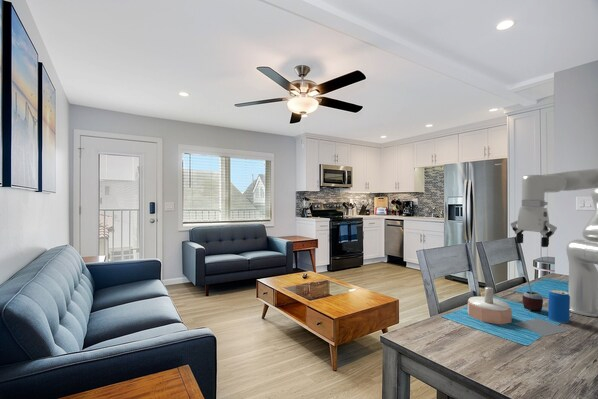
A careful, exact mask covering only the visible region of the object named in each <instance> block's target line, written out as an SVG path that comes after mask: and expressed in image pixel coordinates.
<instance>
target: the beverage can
mask: <svg viewBox="0 0 598 399" xmlns="http://www.w3.org/2000/svg"><path fill="white" fill-rule="evenodd" d="M568 294H569V293H568V292H567V291H565V290H560V289H550V290H549V292H548V313H547V315H548V316H547V317H548V319H549V320H551V321H554V322H557V323H564V324H567V323H569V322H570V296H569V295H568Z"/></svg>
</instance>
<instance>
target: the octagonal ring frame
mask: <svg viewBox="0 0 598 399" xmlns="http://www.w3.org/2000/svg"><path fill="white" fill-rule="evenodd" d="M512 313H513V310H512V308H511V307H510V309H509V310H507V311H493V310H487V309H483V308H479V307H476V306H474V305H472V304H471V303H470V302H469V298H468V299H467V314H468V316H469V317H471V318H473V319H475V320H478V321H480V322H484V323H489V324H490V323H491V324H496V325H506V324H510V323H512V322H513V321H512V315H513V314H512Z"/></svg>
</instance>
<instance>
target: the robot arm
mask: <svg viewBox="0 0 598 399" xmlns="http://www.w3.org/2000/svg"><path fill="white" fill-rule="evenodd" d="M589 189H592V190H591V193H590V194H591V199H592V202H593V205H594V212H593V214H592V216H591V218H590V219H589V220H588V222H587V223H586V225H585V226H584V228H583V230H582V237H583V239H574V240H573V239H572V240H570V241H569V242H568V244H567V245H566V248H565V249H566V250H565V251H566V256H567V260H568V261H567V262H568V293H569V294H568V295H569V296H570V312H571V313H573V314H577V315H580V316H586V317H592V318H593V317H594V318H595V317H596V318H598V268H597V267H596V265H598V168H591V169H590V168H589V169H581V170H579V169H578V170H569V171H562V172H556V173H555V172H554V173H548V174H546V173H545V174H528V175H523V177H522V178H521V207H519V211H518V214H517V220H515V221H513V222H511V223H510V226H511V228H512V230H513V232H514V233H515V235H516V239H515V240H516V244H523V243H524V231H526V232H534V233H540V234H541V241H540V244H541V245H540V246H541V247H542V248H548V247H549V245H550V244H549V243H550V238H551V237H552V236H553V235H554V234H555V232H556V231H557V229H558V228H557V226H555V225H553V224H552V223H550V219H549V212H548V209H547V207H545V206H548V202H547V201H546V199H545V197H546V196H545V195H546V194H545V193H548V194H550V193H560V192H562V191H563V192H565V191H566V192H569V191H570V192H571V191H581V190H589Z"/></svg>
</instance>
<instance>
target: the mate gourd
mask: <svg viewBox="0 0 598 399" xmlns="http://www.w3.org/2000/svg"><path fill="white" fill-rule="evenodd" d="M522 275H523V276H524V278H525V279H526V283H527V285H528V289H529V291H525V292H524V293H523V294H522V299H521V300H522V304H523V308H524V309H526V310H529V311H530V312H531V313H532V312H534V311H535V312H539V313H541V311H542V308H543V307H544V306H543V303H544V300H543V296H542V295H541V294H540V293H538V292H536V291H532V289H531V288H532V287H531V284H530V280H529V278H528V277H527V276H526V274H522Z"/></svg>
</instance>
